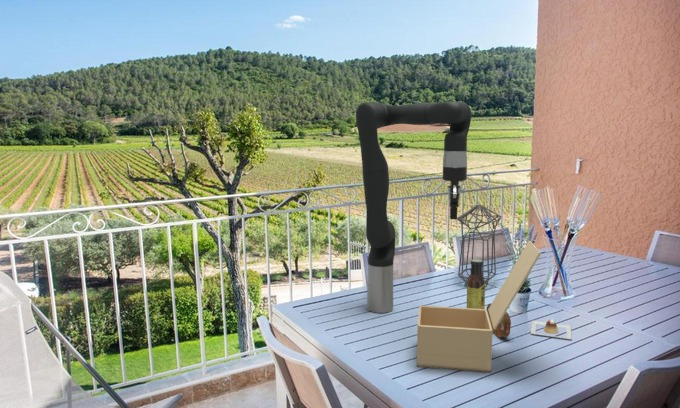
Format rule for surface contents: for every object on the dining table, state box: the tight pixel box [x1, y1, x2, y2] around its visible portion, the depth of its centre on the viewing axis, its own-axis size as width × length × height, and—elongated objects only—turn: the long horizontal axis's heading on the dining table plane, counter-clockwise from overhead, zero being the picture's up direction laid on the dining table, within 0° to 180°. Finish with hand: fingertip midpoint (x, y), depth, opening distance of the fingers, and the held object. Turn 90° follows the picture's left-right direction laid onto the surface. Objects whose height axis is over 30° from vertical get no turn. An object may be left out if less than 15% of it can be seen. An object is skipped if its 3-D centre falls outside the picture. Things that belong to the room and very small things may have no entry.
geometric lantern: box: [456, 203, 502, 288], centre depth 212 cm, size 16×16×35 cm
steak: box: [485, 303, 512, 338], centre depth 165 cm, size 15×3×8 cm, turn 5°
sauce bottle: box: [466, 258, 486, 310], centre depth 180 cm, size 7×6×20 cm
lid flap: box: [488, 240, 542, 329], centre depth 141 cm, size 24×15×1 cm
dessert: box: [530, 318, 572, 340], centre depth 166 cm, size 12×12×5 cm
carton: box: [416, 305, 494, 373], centre depth 147 cm, size 20×17×12 cm
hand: (453, 218), depth 164 cm, fingers closed
